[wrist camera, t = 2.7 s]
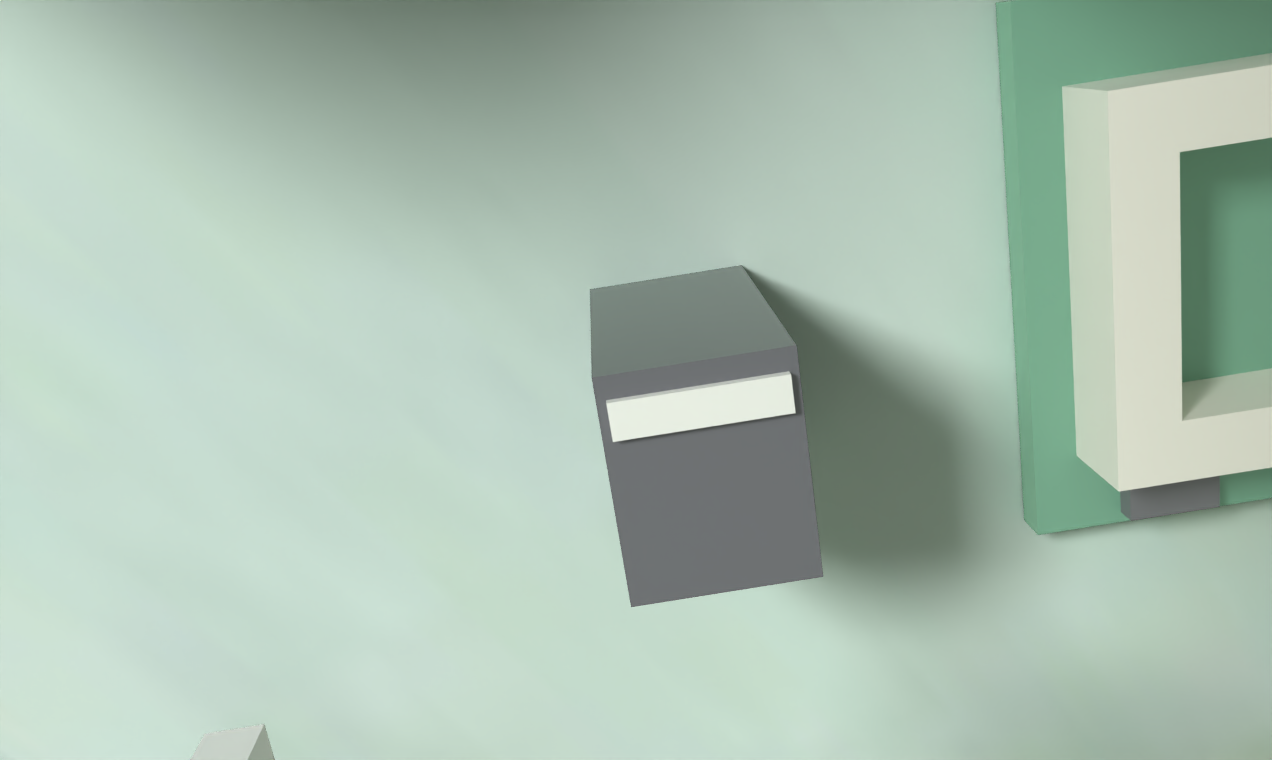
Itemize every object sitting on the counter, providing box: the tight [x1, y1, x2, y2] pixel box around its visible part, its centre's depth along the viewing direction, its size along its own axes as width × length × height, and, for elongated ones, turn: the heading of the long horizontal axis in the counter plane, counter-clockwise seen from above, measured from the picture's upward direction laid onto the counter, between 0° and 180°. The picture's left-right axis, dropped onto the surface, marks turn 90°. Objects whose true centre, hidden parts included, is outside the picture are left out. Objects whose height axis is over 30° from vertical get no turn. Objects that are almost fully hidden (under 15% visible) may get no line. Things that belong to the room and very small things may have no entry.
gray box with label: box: [590, 265, 823, 607], centre depth 26 cm, size 4×5×8 cm
